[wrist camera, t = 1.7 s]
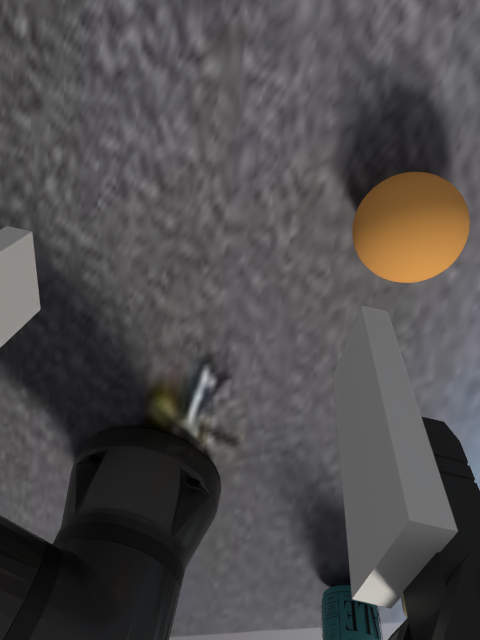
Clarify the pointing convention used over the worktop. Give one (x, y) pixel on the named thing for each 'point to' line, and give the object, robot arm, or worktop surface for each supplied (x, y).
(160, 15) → the worktop surface
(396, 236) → the ball
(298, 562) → the worktop surface
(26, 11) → the worktop surface
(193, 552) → the robot arm
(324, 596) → the beverage bottle
